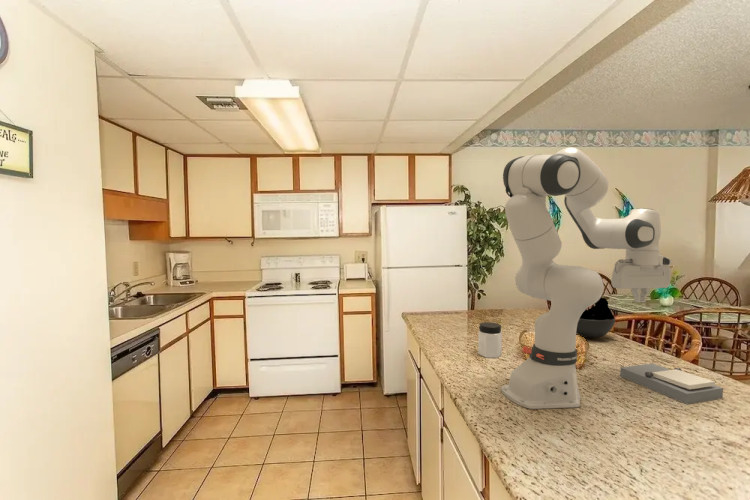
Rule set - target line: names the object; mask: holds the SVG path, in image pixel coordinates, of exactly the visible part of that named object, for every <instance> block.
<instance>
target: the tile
mask: <svg viewBox="0 0 750 500" xmlns="http://www.w3.org/2000/svg"><path fill="white" fill-rule="evenodd" d="M652 374H653V377H655V378H658V379H661V380H663V381H666V382H669V383H672V384H675V385H678V386H680V387H683V388H686V389H689V390H690V389H697V388H703V387H709V386H716V381H715V380H712V379H708V378H705V377H702V376H698V375H695V374H693V373H689V372H686V371H683V370H682V371H680V370H677V369H674V368H673V369H670V370H667V371H659V372H652Z"/></svg>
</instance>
